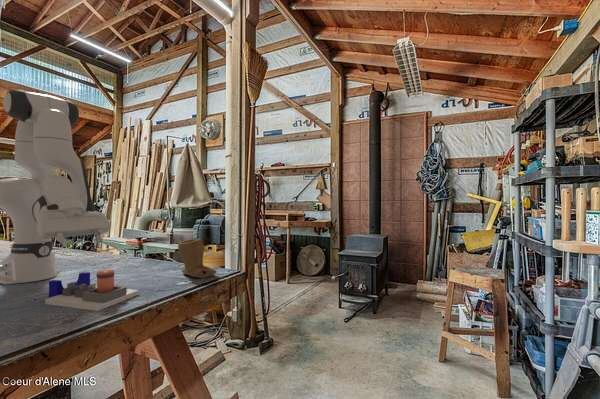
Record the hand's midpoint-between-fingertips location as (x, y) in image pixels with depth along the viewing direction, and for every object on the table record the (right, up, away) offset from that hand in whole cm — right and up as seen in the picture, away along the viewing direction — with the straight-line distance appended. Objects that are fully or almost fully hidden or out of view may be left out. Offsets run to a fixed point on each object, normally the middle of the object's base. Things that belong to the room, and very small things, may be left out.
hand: (84, 243), depth 100 cm
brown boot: (+27, -17, +27) cm, 42 cm away
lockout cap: (+11, -16, -6) cm, 20 cm away
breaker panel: (+5, -17, -3) cm, 18 cm away
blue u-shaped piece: (-7, -17, +2) cm, 19 cm away
